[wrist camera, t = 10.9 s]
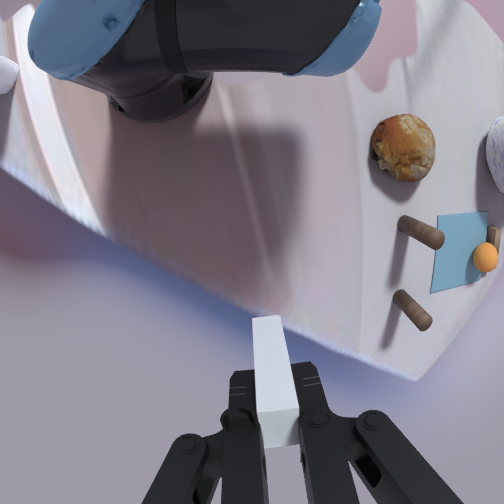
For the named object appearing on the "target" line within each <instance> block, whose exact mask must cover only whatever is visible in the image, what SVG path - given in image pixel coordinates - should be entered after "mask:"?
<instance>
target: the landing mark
mask: <svg viewBox="0 0 504 504" xmlns="http://www.w3.org/2000/svg"><path fill="white" fill-rule="evenodd" d="M487 222H488V211H487V212H475V213H464V214H453V215H442V216H438V223H437V229H438V230H440V231H442V232H443V233H444V235H445V241H444V244H443V246H442V247H441V248H440V249H439V250H436V251H435V261H434V269H433V277H432V284H431V291H430V293H433V292H437V291H441V290H445V289H449V288H453V287H456V286H460V285H464V284H467V283H471V282H474V281H478V280H480V275H481V271H479V270H478V269H477V268H476V266H475V264H474V261H473V254H474V251H475V249H476V247H477V246H478V245H479V244H481V243H485V242H486V233H487Z"/></svg>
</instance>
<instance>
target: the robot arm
mask: <svg viewBox="0 0 504 504" xmlns="http://www.w3.org/2000/svg"><path fill="white" fill-rule="evenodd" d="M379 2H380V0H41V2H40V4H39V6H38V7H37V9H36V11H35V14H34V16H33V19H32V21H31V24H30V28H29V32H28V51H29V55H30V58H31V59H32V60H33V62H34V63H35V65H36V66H37V67H38V68H40V69H41V70H43V71H45V72H47V73H49V74H51V75H52V76H53V77H55V78H57V79H60V80H68V81H71V82H74V83H77V84H80V85H83V86H85V87H88V88H91V89H94V90H97V91H99V92H102V93H105V94H106V96H107V98H108V100H109V102H110V103H111V104H112V106H113V107H114V108H115V109H116V110H117V111H118V112H120V113H121V114H123V115H124V116H126V117H129V118H131V119H134V120H138V121H142V122H161V121H166V120H169V119H172V118H175V117H177V116H179V115H181V114H183V113H184V112H186V111H187V110H189V109H190V108H191V107H193V106H194V105H195V104H196V103H197V102H198V101H199V100H200V99H201V97H202V96H203V95H204V93H205V92H206V90H207V89H208V87H209V85H210V82H211V80H212V76H213V72H233V71H234V72H238V71H240V72H272V73H282V74H283V75H285V76H299V75H313V76H324V77H328V76H333V75H336V74H340V73H343V72H345V71H347V70H348V69H349V68H351V67H352V66H353V65H354V64H355V63H356V62H357V61H358V60H359V59H360V58H361V57H362V55H363V54H364V52H365V51H366V49H367V48H368V46H369V44H370V43H371V41H372V39H373V36H374V34H375V32H376V29H377V27H378V24H379V20H380V15H381V10H382V8H381V7H380V5H378V3H379ZM252 322H253V324H252V325H253V344H254V366H255V369H254V370H245V371H244V370H243V371H235V372H234V373H233V375H232V376H231V378H230V389H229V408H228V409H227V410H225V411H224V412H223V414H222V415H221V418H220V421H221V424H222V427H223V429H222V430H221V431H220V432H218V433H216V434H214V435H210V436H206V437H203V438H202V437H201V436H199V435H196V434H189V433H188V434H185V435H181V436H180V437H178V438H177V439H176V440H175V441H174V442H173V444H172V446H171V448H170V450H169V452H168V454H167V456H166V458H165V460H164V462H163V464H162V466H161V468H160V469H159V471H158V473H157V475H156V477H155V479H154V481H153V483H152V485H151V487H150V489H149V490H148V492H147V494H146V496H145V498H144V500H143V502H142V504H210V503H211V501H212V498H213V495H214V492H215V490H216V487H217V485H218V482H219V479H220V477H222V494H221V504H269V499H268V485H267V472H266V459H265V455H264V448H272V447H281V446H288V445H296V444H299V443H300V449H301V462H302V466H303V473H304V478H305V485H306V491H307V498H308V504H360V503H359V500H358V496H357V492H356V488H355V485H354V481H353V478H352V474H351V471H350V467H349V463H348V461H349V462H350V463H351V465H352V466H353V468H354V469H355V471H356V472H357V474H358V475H359V477H360V478H361V480H362V481H363V483H364V484H365V486H366V487H367V489H368V490H369V492H370V493H371V495H372V496H373V498H374V499H375V501H376V502H377V504H464V503H463V502H462V501H461V500H460V499H459V498H458V497H457V495H456V494H455V493H454V492H453V491H452V490H451V489H450V487H449V486H448V485H447V484H446V483H445V482H444V481H443V480H442V478H441V477H440V476H439V475H438V474H437V473H436V471H435V470H434V469H433V468H432V467H431V466H430V465H429V463H428V462H427V461H426V460H425V459H424V458H423V457H422V455H421V454H420V453H419V452H418V451H417V450H416V448H415V447H414V446H413V445H412V444H411V443H410V442H409V440H408V439H407V438H406V437H405V436H404V435H403V433H402V432H401V431H400V430H399V429H398V428H397V427H396V425H394V423H393V422H392V421H391V420H390V419H389V417H388V416H387V415H386V414H384V413H383V412H381V411H378V410H369V411H366V412H363V413H362V414H361V415H359V417H358V418H348V417H341V416H338V415H336V414H334V413H333V412H332V411H331V410H330V409H329V407H328V404H327V400H326V397H325V394H324V391H323V387H322V384H321V381H320V378H319V374H318V372H317V368H316V367H315V366H314V365H313V364H312V363H311V362H310V361H309V362H303V363H296V364H290V361H289V356H288V351H287V346H286V342H285V337H284V332H283V327H282V323H281V318H280V315H273V316H265V317H257V318H252Z"/></svg>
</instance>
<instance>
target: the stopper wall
mask: <svg viewBox="0 0 504 504" xmlns="http://www.w3.org/2000/svg"><path fill="white" fill-rule="evenodd" d="M501 230H502V229H500V228H497V227H495V226H489V227H488V231H487V240H486V243H490V244H492V245H493V246H494V247H495V248H496V250H497V253H499V247H500V239H501ZM496 265H497V264H496ZM494 269H496V266H495V268H494Z"/></svg>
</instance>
